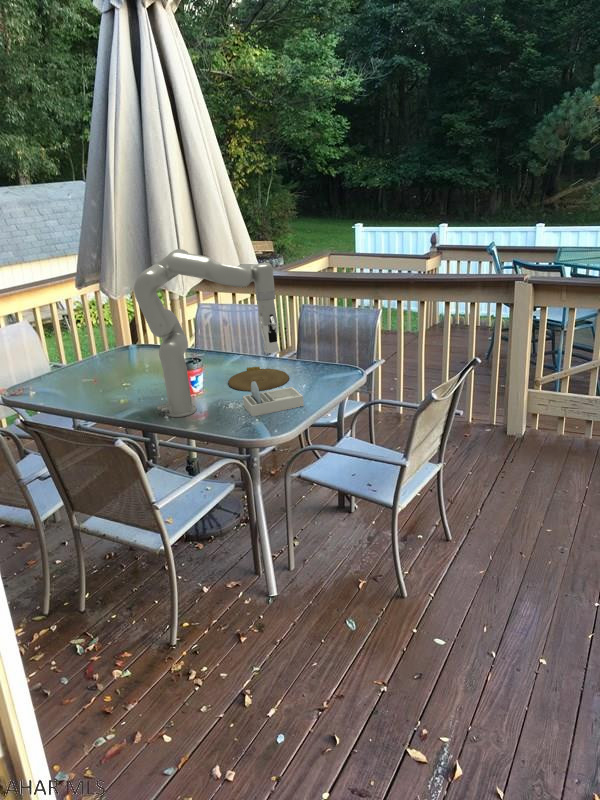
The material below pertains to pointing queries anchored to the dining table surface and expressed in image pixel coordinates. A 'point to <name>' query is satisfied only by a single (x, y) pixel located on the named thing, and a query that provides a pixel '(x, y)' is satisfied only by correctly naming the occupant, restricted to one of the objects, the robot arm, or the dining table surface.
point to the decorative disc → (258, 379)
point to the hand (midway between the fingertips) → (270, 339)
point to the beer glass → (267, 345)
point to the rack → (271, 400)
